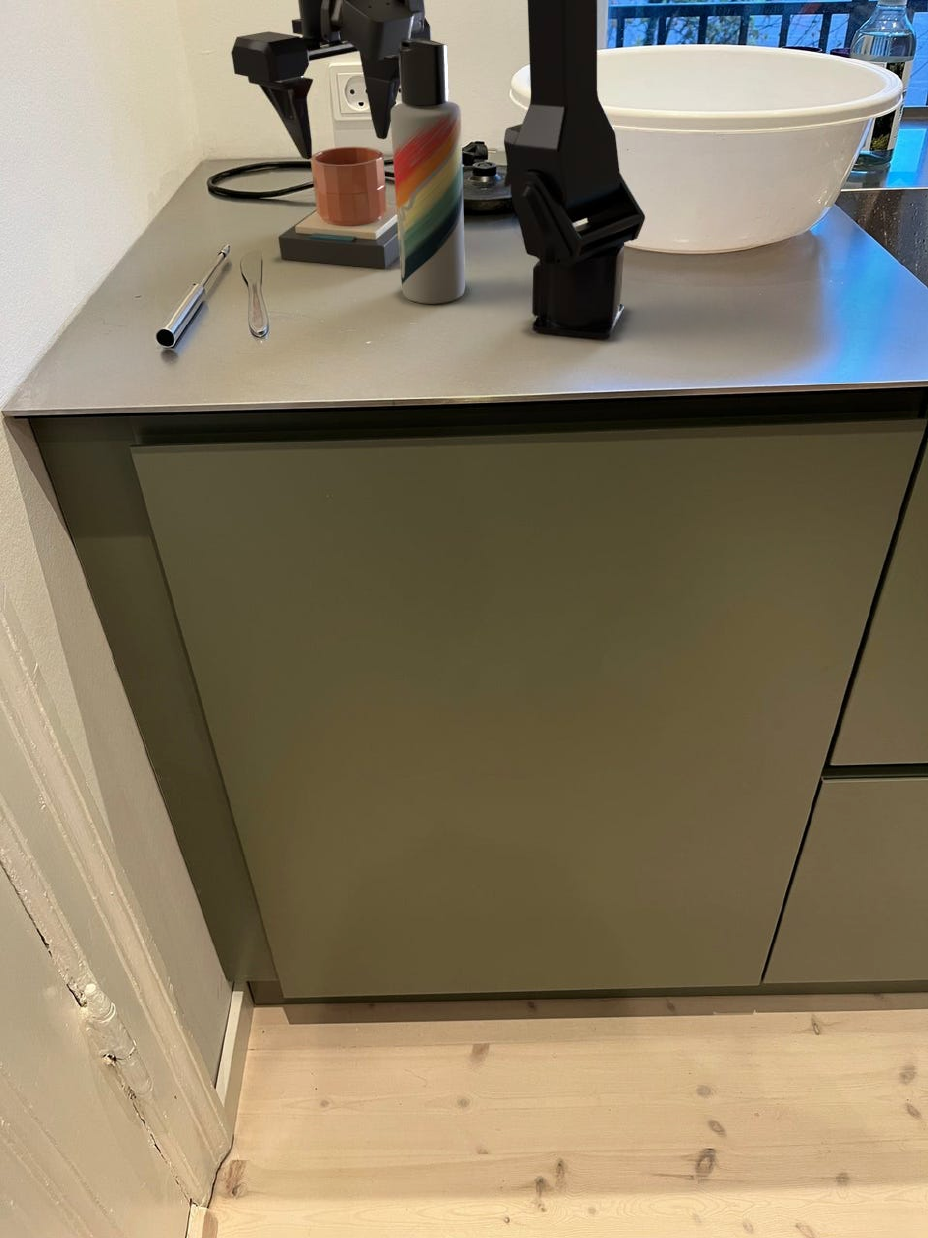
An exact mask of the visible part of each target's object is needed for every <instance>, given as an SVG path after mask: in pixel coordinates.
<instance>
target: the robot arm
mask: <svg viewBox="0 0 928 1238" xmlns="http://www.w3.org/2000/svg"><path fill="white" fill-rule="evenodd" d="M297 2H298V12H299V18H295V19H291V28H292V34H294V35H292V34H288V33H281V32H275V31H269V30H268V31H262V32H257V33H251V34H245V35H240V36H236V38H235V40H234V42H233V46H232V49H231V60H232V65H233V67H232V68H233V72H234V75H238V76H243V77H247V80H248V83H249V84H252V85H257V86H259V88H260V89H261V91H262V92H263V94H264V95H265V96H266V98H267V100H268V101H269V103H270V104H271V105H272V107H273V108H274V110H275V111H276V113H277V115H278V116H279V117H278V118H280V120H281V122H282V124H283V126H284V128H285V129H286V131H287V133H288V135H289V137H290V139H291V140H292V142H293V144H294V146H295V147H296V149H297V151H298V153H299V155H300V157H301V158H302V159H305V160H311V158H312V155H313V140H312V139H313V138H312V130H311V124H310V114H309V107H308V106H309V105H308V95H309V92H310V90H311V87H312V85H313V82H314V79H313V78H310V77H306V76H305V74H306V71H307V69H308V68H309V66H310V62H312V61H316V60H321V59H327V58H332V57H337V56H341V55H347V54H352V53H357V52H358V53H359V59H360V62H361V69H362V73H363V78H364V85H365V89H366V96H367V100H368V105H369V111H370V116H371V122H372V125H373V129H374V133H375V135H376V138H377V139H380V140H386V139H387V138H388V135H389V130H390V127H391V109H392V108H393V107H394V106H395V105H396V101H397V99H398V98H397V97H398V95H399V90H400V88H401V85H400V69H399V53H398V46H399V44H400V43H401V42H402V39H403V38H423V39H428V40H432V32H431V31H432V30H431V29H432V28H431V25H430V24H429V22H428V20H427V19H426V9H425V8H426V7H425V0H297ZM527 27H528V28H527V29H528V56H529V79H530V80H529V83H530V84H529V85H530V86H529V87H530V98H529V105H528V108H527V110H526V113H525V115H524V118H523V120H522V123H521V124H517V125H513V126H510V127H507V128H506V129H505V131H504V137H503V146H504V152H505V159H506V175H505V178H504V183H503V184H504V186H505V188H507V187H509V186H510V196H511V202H512V205H513V208H514V211H515V212H516V215H517V219H518V224H519V227H520V232H521V236H522V240H523V245H524V249H525V252H526V254H527V255H529V256H532V257H534V258H537V259H538V260H537V262H536V263H535V265H534V266H533V267H532V298H531V299H532V301H531V303H532V304H531V306H532V307H531V309H532V310H531V313H532V315H533V316H534V317H536V318H535V320H534V321H533V323H532V331H533V332H537V333H547V334H556V335H566V336H575V337H583V338H593V339H604V340H605V339H610V338H611V337H612V334H613V332H614V331H615V328H616V326H617V325H618V323H619V321H620V318H621V316H622V315H623V314H624V313H623V312H624V309H625V306H624V304H622V303H621V293H622V281H623V268H624V256H625V255H624V254H625V243H628V242H630V241H631V242H633V241H636V240H637V239H638V238H639V235H640V233H641V230H642V229H643V226H644V223H645V220H646V215H645V212H644V211H643V209H642V208H641V206H640V204H639V203H638V201H637V200H636V198H635V196H634V195H633V193H632V191H631V189H630V188H629V186H628V184H627V183H626V181H625V179H624V178H623V176H622V174H621V172H620V162H619V155H618V154H619V153H618V145H617V136H616V132H615V129H614V127H613V125H612V123H611V122H610V120H609V119H610V118H609V117H608V114H607V113H606V110H605V109H604V107H603V105H602V103H601V100H600V98H599V93H598V0H527ZM299 35H301V36H299ZM304 76H305V77H304ZM585 219H586V221H587V222H585V223H582V224H579V225H577V226H574V224H575V223H578V222H580V221H582V220H585Z"/></svg>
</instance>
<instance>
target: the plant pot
mask: <svg viewBox="0 0 928 1238" xmlns="http://www.w3.org/2000/svg"><path fill="white" fill-rule="evenodd" d="M310 165H311V174H312V175H311V176H312V183H313V190H314V198H315V199H314V200H315V207H316V209H317V214H318V215H319V216H320V217H321V219H322V220H323V221H324V222H326V223H329V224H333V225H340V226H356V225H364V224H368V223H372V222H375V221H377V220H379V219H381V218H382V217H383V216H384V213H385V212H386V210H387V205H388V202H387V188H386V176H385V175H386V174H385V173H386V171H385V159H384V153H383V152H382V151H381V150H379V149H375V148H373V147H365V146H341V147H333V148H328V149H323V150H320V151H318V152H316V153H314V154H312V158H311V159H310Z"/></svg>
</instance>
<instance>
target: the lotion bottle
mask: <svg viewBox="0 0 928 1238" xmlns="http://www.w3.org/2000/svg"><path fill="white" fill-rule="evenodd" d="M398 53H399V69H400V97H401V98H400V99H401V103H398V104H395V106H394V107H393V108H392V109H391V123H390V127H391V128H390V131H391V145H392V161H393V162H392V163H393V173H394V174H393V176H394V178H393V179H394V190H395V191H394V192H395V193H394V194H395V205H396V208H397V223H398V238H399V253H400V256H399V265H400V266H399V268H400V279H401V280H400V281H401V290H402V294H403V296H404V297H405V298H406V299H407V300H409V301H411V302H414V303H418V304H425V305H427V304H428V305H432V304H433V305H435V304H436V305H437V304H444V303H449V302H452V301H454V300H458V299H459V298H460V297H462V296H463V295H464V293H465V290H466V289H465V288H466V262H465V261H466V258H465V255H466V254H465V223H464V221H465V217H464V181H463V180H464V179H463V177H464V176H463V175H464V173H463V138H462V137H463V134H462V111H461V107H460V105H459V104H457V103H455V102H453V101H449V99H450V98H449V95H450V93H449V92H450V91H449V63H448V60H449V59H448V57H449V56H448V45H447V44H445V43H442V42H439V41H435V40H433V39H431V40H428V39H423V38H403V39H402V42H401V43H400V44H399V46H398Z"/></svg>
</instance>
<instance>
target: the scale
mask: <svg viewBox="0 0 928 1238" xmlns="http://www.w3.org/2000/svg"><path fill="white" fill-rule="evenodd" d="M278 244H279V252H280V259H281V260H287V261H288V260H289V261H297V262H305V263H307V262H308V263H317V264H318V263H319V264H327V265H328V264H329V265H337V266H339V265H340V266H347V267H348V266H349V267H360V268H370V269H380V270H381V269H382V270H386V269H387V268H388V267H389V266H390V265H391V264H392V263H394V261H395V260H396V259H398V258H399V257H400V253H399V238H398V223H397V208H396V204H387V210H386V212H385V213H384V216H383V217H382V218H381V219H379V220H377V221H375V222H372V223H368V224H364V225H356V226H340V225H333V224H329V223H326V222H324V221H323V220H322V219H321V217H320V216H319V215H318V214H317V208H316V209H315V210H313V211H312V212H311V213H309V214H307V215H306V216H305V217H304V218H302V219H301V220H300V221H298V222H297V223H295V224H294V225H293V226H291V227H290V228H288V229H287V230H286V231H284V232H283V233H282V234H280V235H278Z"/></svg>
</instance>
